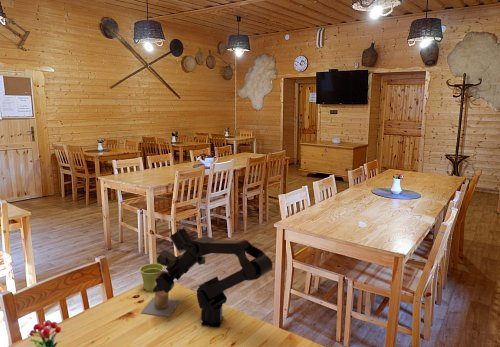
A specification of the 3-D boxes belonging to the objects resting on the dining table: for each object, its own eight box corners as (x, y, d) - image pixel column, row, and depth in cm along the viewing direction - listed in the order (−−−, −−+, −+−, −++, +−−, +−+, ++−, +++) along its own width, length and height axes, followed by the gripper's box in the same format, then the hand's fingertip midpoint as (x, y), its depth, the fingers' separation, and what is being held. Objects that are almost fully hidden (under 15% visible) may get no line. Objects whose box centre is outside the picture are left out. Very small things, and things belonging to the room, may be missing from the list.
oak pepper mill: (170, 304, 144) (171, 271, 142) (165, 310, 139) (166, 277, 137) (157, 302, 145) (158, 269, 142) (152, 308, 140) (153, 275, 138)
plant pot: (158, 295, 151) (157, 274, 149) (135, 292, 152) (135, 271, 151) (167, 284, 160) (167, 264, 158) (146, 281, 162) (146, 262, 160)
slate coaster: (180, 301, 147) (180, 300, 147) (169, 317, 136) (169, 316, 136) (152, 298, 148) (152, 297, 148) (140, 313, 138) (140, 312, 138)
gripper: (179, 236, 146) (152, 260, 150) (160, 255, 128) (130, 282, 132) (199, 257, 146) (171, 281, 150) (183, 279, 128) (152, 306, 132)
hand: (157, 286), depth 141 cm, fingers open, 6 cm apart
